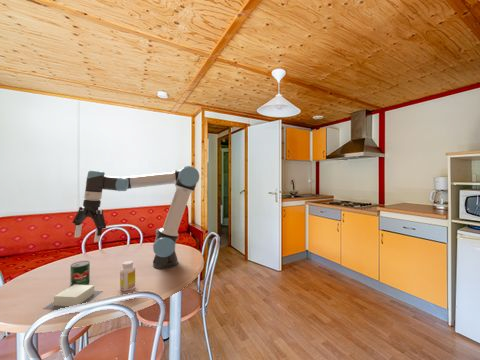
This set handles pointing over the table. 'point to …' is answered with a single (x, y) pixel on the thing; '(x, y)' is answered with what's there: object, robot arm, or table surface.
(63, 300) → the cream base block
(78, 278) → the canned tomato
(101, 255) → the table surface
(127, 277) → the supplement bottle
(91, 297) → the grey flat square
